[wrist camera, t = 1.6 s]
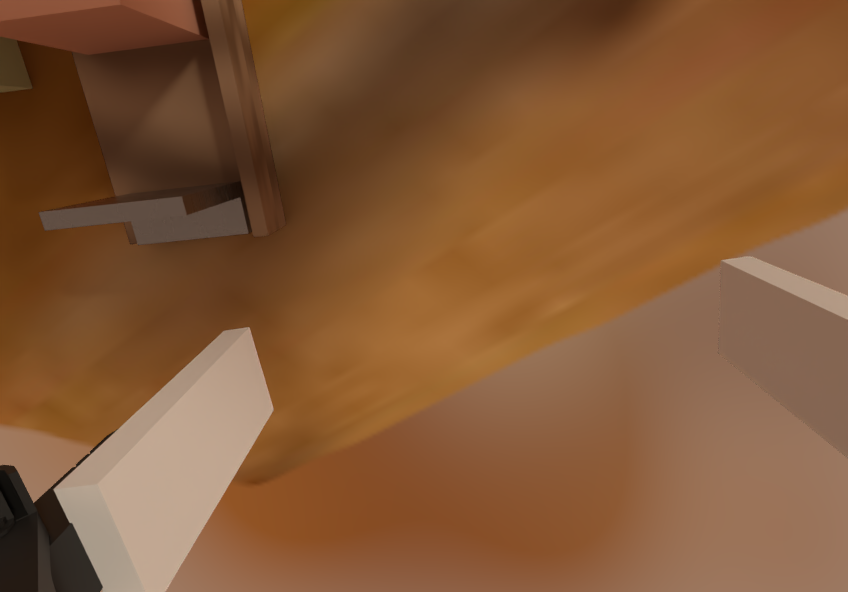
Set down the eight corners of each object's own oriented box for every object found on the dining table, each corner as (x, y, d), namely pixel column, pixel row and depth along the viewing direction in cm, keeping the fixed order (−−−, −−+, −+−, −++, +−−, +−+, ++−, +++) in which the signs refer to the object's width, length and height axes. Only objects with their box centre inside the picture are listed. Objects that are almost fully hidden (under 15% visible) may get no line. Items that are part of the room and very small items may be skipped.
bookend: (128, 193, 34) (38, 212, 26) (240, 181, 33) (181, 196, 26) (142, 243, 35) (60, 274, 28) (251, 231, 35) (198, 260, 27)
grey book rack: (18, -179, 29) (-298, -409, 16) (199, -209, 28) (11, -473, 16) (142, 239, 37) (-9, 295, 24) (286, 224, 36) (205, 274, 24)
